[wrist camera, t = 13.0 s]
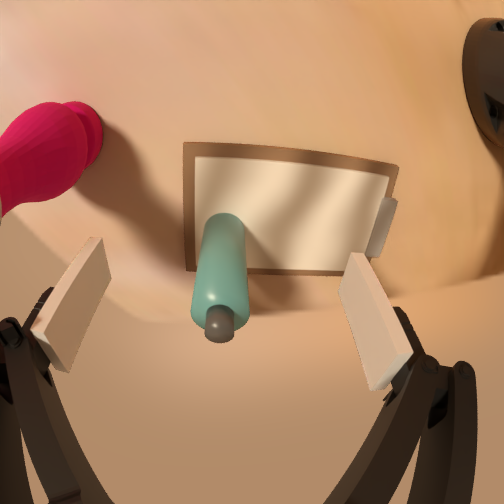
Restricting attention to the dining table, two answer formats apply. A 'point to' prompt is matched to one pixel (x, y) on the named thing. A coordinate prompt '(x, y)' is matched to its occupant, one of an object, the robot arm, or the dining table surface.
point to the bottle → (221, 279)
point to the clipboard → (288, 205)
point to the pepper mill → (46, 152)
